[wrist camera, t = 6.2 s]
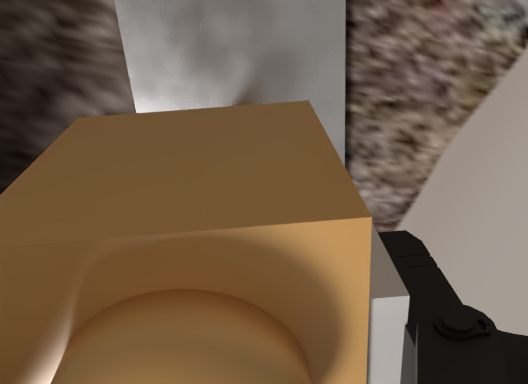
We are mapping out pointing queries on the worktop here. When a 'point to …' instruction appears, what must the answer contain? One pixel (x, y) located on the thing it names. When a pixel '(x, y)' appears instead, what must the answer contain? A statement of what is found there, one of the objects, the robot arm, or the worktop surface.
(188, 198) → the cube with dome top
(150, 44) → the plate with brass peg
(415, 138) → the worktop surface
